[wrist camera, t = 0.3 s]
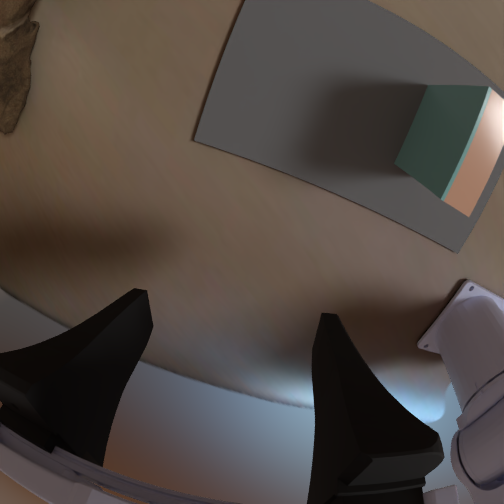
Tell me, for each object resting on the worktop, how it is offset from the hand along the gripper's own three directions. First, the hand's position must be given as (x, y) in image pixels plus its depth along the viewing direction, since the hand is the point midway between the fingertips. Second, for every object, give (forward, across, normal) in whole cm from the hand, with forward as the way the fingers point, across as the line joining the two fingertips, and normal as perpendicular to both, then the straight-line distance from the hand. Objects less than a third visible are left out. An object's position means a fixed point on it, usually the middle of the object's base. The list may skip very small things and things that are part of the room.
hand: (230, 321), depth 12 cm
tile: (+10, -10, -8) cm, 16 cm away
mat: (+10, -8, -9) cm, 15 cm away
